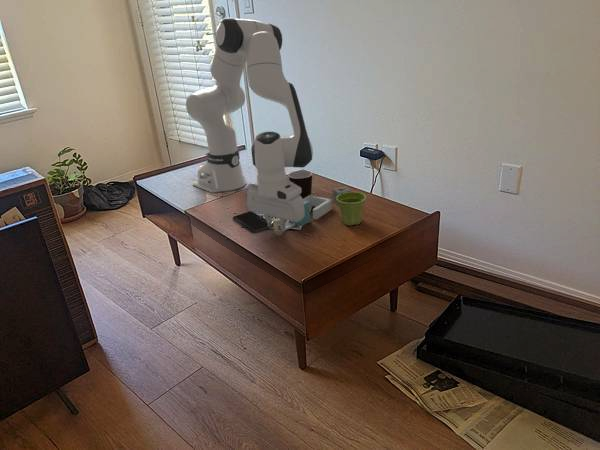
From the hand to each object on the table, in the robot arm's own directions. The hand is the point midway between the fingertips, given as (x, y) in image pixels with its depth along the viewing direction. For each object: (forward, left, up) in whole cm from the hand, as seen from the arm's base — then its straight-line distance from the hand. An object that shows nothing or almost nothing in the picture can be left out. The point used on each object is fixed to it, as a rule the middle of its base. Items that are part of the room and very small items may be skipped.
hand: (276, 228), depth 152 cm
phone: (-13, +3, -3) cm, 14 cm away
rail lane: (0, +20, -2) cm, 20 cm away
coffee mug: (-10, +28, -2) cm, 30 cm away
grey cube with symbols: (+5, +31, -2) cm, 32 cm away
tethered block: (+1, +6, -2) cm, 6 cm away
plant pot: (+16, +19, -2) cm, 25 cm away
